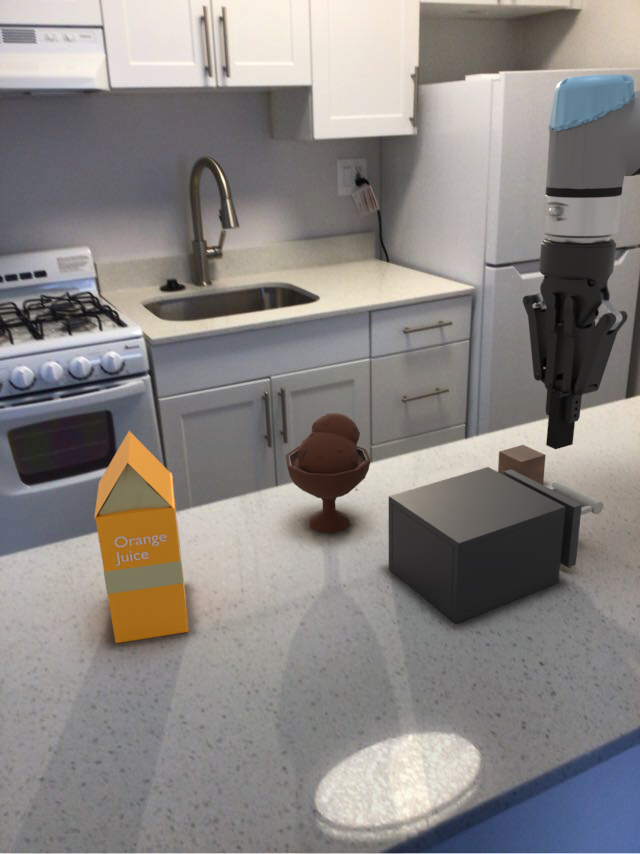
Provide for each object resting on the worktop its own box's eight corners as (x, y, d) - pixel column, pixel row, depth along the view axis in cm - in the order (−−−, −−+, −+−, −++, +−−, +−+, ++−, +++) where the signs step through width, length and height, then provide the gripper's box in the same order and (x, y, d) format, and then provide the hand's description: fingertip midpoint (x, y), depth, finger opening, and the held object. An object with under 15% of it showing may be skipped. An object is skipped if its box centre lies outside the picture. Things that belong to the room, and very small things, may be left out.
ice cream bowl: (297, 501, 106) (293, 401, 101) (376, 507, 104) (376, 404, 98) (278, 539, 97) (272, 430, 91) (365, 546, 94) (363, 434, 89)
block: (521, 472, 113) (522, 444, 111) (543, 484, 109) (545, 454, 107) (497, 480, 111) (498, 451, 109) (519, 491, 107) (521, 462, 105)
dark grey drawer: (544, 512, 99) (548, 457, 96) (614, 550, 90) (621, 491, 87) (421, 554, 90) (422, 495, 87) (484, 601, 81) (488, 537, 78)
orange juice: (185, 586, 87) (167, 424, 80) (190, 632, 79) (169, 456, 72) (116, 596, 86) (90, 433, 78) (113, 644, 78) (84, 466, 70)
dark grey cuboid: (484, 535, 96) (488, 466, 92) (558, 582, 85) (565, 506, 82) (388, 568, 89) (388, 495, 86) (456, 624, 79) (459, 543, 75)
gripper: (508, 234, 83) (496, 434, 92) (602, 247, 72) (579, 471, 81) (558, 228, 86) (542, 421, 95) (655, 240, 76) (627, 456, 84)
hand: (559, 444), depth 88 cm, fingers closed
